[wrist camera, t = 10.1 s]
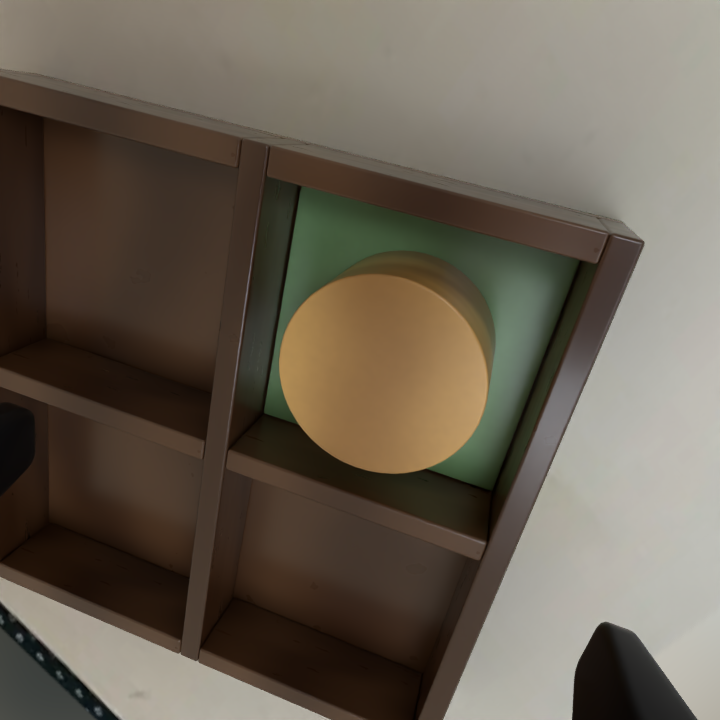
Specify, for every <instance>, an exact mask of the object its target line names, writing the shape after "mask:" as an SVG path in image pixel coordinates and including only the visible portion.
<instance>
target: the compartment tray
mask: <svg viewBox="0 0 720 720" xmlns="http://www.w3.org/2000/svg"><path fill="white" fill-rule="evenodd" d="M643 247H644V241H643V240H642V239H641V238H640V237H638V236H637V235H636V234H635V233H634V232H633V231H632V230H630V229H629V228H628V227H627V226H626V225H625V224H624V223H623V222H621V221H617V220H613V219H609V218H605V217H601V216H597V215H593V214H589V213H585V212H581V211H577V210H574V209H570V208H566V207H562V206H558V205H554V204H550V203H546V202H542V201H538V200H534V199H530V198H526V197H522V196H518V195H514V194H510V193H506V192H502V191H498V190H494V189H490V188H486V187H482V186H478V185H475V184H471V183H467V182H463V181H459V180H455V179H451V178H447V177H443V176H439V175H435V174H431V173H427V172H423V171H419V170H415V169H411V168H407V167H403V166H399V165H395V164H391V163H387V162H383V161H379V160H376V159H372V158H368V157H364V156H360V155H356V154H352V153H348V152H344V151H340V150H336V149H332V148H328V147H324V146H320V145H316V144H312V143H308V142H304V141H300V140H296V139H292V138H288V137H284V136H280V135H277V134H273V133H269V132H265V131H261V130H257V129H253V128H249V127H245V126H241V125H237V124H233V123H229V122H225V121H221V120H217V119H213V118H209V117H205V116H201V115H197V114H193V113H189V112H185V111H181V110H178V109H174V108H170V107H166V106H162V105H158V104H154V103H150V102H146V101H142V100H138V99H134V98H130V97H126V96H122V95H118V94H114V93H110V92H106V91H102V90H98V89H94V88H90V87H86V86H82V85H79V84H75V83H71V82H67V81H63V80H59V79H55V78H51V77H47V76H43V75H39V74H34V73H27V72H26V73H25V72H19V71H12V70H5V69H0V403H4V402H8V403H13V404H16V405H19V406H21V407H24V408H27V409H29V410H30V411H31V412H32V413H33V415H34V418H35V448H36V451H35V457H34V460H33V462H32V464H31V465H30V467H29V468H28V469H27V470H26V471H25V472H24V473H23V474H22V475H21V476H20V477H19V478H18V479H17V480H16V481H15V483H14V484H13V485H12V486H11V487H10V488H9V489H8V490H7V491H6V492H5V493H4V494H3V495H2V496H1V497H0V577H2V578H4V579H6V580H9V581H11V582H13V583H16V584H18V585H20V586H23V587H25V588H27V589H30V590H32V591H34V592H37V593H39V594H41V595H44V596H46V597H48V598H50V599H53V600H55V601H57V602H60V603H62V604H64V605H67V606H69V607H71V608H74V609H76V610H78V611H81V612H83V613H85V614H88V615H90V616H92V617H95V618H97V619H99V620H101V621H104V622H106V623H108V624H111V625H113V626H115V627H118V628H120V629H122V630H125V631H127V632H129V633H132V634H134V635H136V636H139V637H141V638H143V639H146V640H148V641H150V642H152V643H155V644H157V645H159V646H162V647H164V648H166V649H169V650H171V651H173V652H176V653H180V652H181V655H183V656H185V657H188V658H190V659H192V660H195V661H198V660H199V663H201V664H203V665H206V666H208V667H210V668H213V669H215V670H217V671H220V672H222V673H224V674H227V675H229V676H231V677H234V678H236V679H238V680H241V681H243V682H245V683H248V684H250V685H252V686H254V687H257V688H259V689H261V690H264V691H266V692H268V693H271V694H273V695H275V696H278V697H280V698H282V699H285V700H287V701H289V702H292V703H294V704H296V705H299V706H301V707H303V708H305V709H308V710H310V711H312V712H315V713H317V714H319V715H322V716H324V717H326V718H329V719H331V720H443V719H444V716H445V714H446V711H447V709H448V707H449V704H450V702H451V700H452V697H453V695H454V693H455V690H456V688H457V686H458V683H459V681H460V678H461V676H462V674H463V671H464V669H465V667H466V664H467V662H468V660H469V657H470V655H471V653H472V650H473V648H474V645H475V643H476V641H477V638H478V636H479V634H480V631H481V629H482V627H483V624H484V622H485V620H486V617H487V615H488V612H489V610H490V608H491V605H492V603H493V601H494V598H495V596H496V594H497V591H498V589H499V587H500V584H501V582H502V579H503V577H504V575H505V572H506V570H507V568H508V565H509V563H510V561H511V558H512V556H513V554H514V551H515V549H516V546H517V544H518V542H519V539H520V537H521V535H522V532H523V530H524V528H525V525H526V523H527V521H528V518H529V516H530V513H531V511H532V509H533V506H534V504H535V502H536V499H537V497H538V495H539V492H540V490H541V488H542V485H543V483H544V480H545V478H546V476H547V473H548V471H549V469H550V466H551V464H552V462H553V459H554V457H555V455H556V452H557V450H558V447H559V445H560V443H561V440H562V438H563V436H564V433H565V431H566V429H567V426H568V424H569V422H570V419H571V417H572V414H573V412H574V410H575V407H576V405H577V403H578V400H579V398H580V396H581V393H582V391H583V389H584V386H585V384H586V381H587V379H588V377H589V374H590V372H591V370H592V367H593V365H594V363H595V360H596V358H597V356H598V353H599V351H600V348H601V346H602V344H603V341H604V339H605V337H606V334H607V332H608V330H609V327H610V325H611V323H612V320H613V318H614V315H615V313H616V311H617V308H618V306H619V304H620V301H621V299H622V297H623V294H624V292H625V290H626V287H627V285H628V282H629V280H630V278H631V275H632V273H633V271H634V268H635V266H636V264H637V261H638V259H639V257H640V254H641V252H642V249H643ZM400 250H404V251H416V252H420V253H425V254H429V255H432V256H434V257H437V258H440V259H442V260H444V261H446V262H448V263H450V264H451V265H453V266H454V267H455V268H457V269H458V270H460V271H461V272H462V273H463V274H464V275H466V276H467V277H468V278H469V279H470V280H471V281H472V282H473V284H474V285H475V286H476V287H477V288H478V290H479V291H480V293H481V294H482V296H483V297H484V299H485V301H486V303H487V305H488V307H489V310H490V312H491V316H492V319H493V322H494V328H495V338H496V347H495V355H494V362H493V368H492V374H491V380H490V386H489V392H488V399H487V403H486V407H485V410H484V414H483V416H482V418H481V421H480V423H479V425H478V427H477V428H476V430H475V432H474V433H473V435H472V436H471V437H470V439H469V440H468V441H467V442H466V443H465V444H464V446H463V447H461V448H460V449H459V450H458V451H457V452H456V453H455V454H453V455H452V456H450V457H449V458H447V459H446V460H444V461H442V462H440V463H438V464H436V465H434V466H432V467H429V468H426V469H423V470H420V471H415V472H409V473H398V474H389V473H378V472H372V471H367V470H364V469H360V468H357V467H354V466H352V465H349V464H347V463H345V462H343V461H341V460H339V459H337V458H335V457H333V456H332V455H330V454H329V453H328V452H326V451H325V450H323V449H322V448H321V447H320V446H318V445H317V444H316V443H315V442H314V441H313V440H312V439H311V438H310V437H309V436H308V435H307V434H306V433H305V432H304V430H303V429H302V428H301V426H300V425H299V424H298V422H297V421H296V419H295V418H294V416H293V414H292V412H291V411H290V409H289V406H288V404H287V402H286V399H285V397H284V393H283V390H282V386H281V380H280V374H279V356H280V347H281V343H282V339H283V335H284V333H285V330H286V328H287V325H288V323H289V321H290V320H291V318H292V316H293V314H294V313H295V312H296V310H297V309H298V308H299V307H300V305H301V304H302V303H303V302H304V301H305V300H306V299H307V298H308V297H309V296H310V295H311V294H313V293H314V292H316V291H317V290H319V289H320V288H321V287H323V286H324V285H326V284H327V283H328V282H330V281H331V280H333V279H334V278H336V277H337V276H338V275H340V274H341V273H343V272H344V271H346V270H347V269H348V268H350V267H351V266H353V265H354V264H356V263H357V262H359V261H361V260H363V259H365V258H367V257H369V256H372V255H375V254H378V253H383V252H388V251H400Z"/></svg>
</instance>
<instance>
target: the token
mask: <svg viewBox="0 0 720 720" xmlns="http://www.w3.org/2000/svg"><path fill="white" fill-rule="evenodd" d="M495 347H496V338H495V328H494V322H493V319H492V316H491V312H490V310H489V307H488V305H487V303H486V301H485V299H484V297H483V296H482V294H481V293H480V291H479V290H478V288H477V287H476V286H475V285H474V284H473V282H472V281H471V280H470V279H469V278H468V277H467V276H466V275H464V274H463V273H462V272H461V271H460V270H458V269H457V268H455V267H454V266H453V265H451V264H450V263H448V262H446V261H444V260H442V259H440V258H437V257H434V256H432V255H429V254H425V253H420V252H416V251H404V250H400V251H388V252H383V253H378V254H375V255H372V256H369V257H367V258H365V259H363V260H361V261H359V262H357V263H356V264H354V265H353V266H351V267H350V268H348V269H347V270H346V271H344V272H343V273H341V274H340V275H338V276H337V277H336V278H334V279H333V280H331V281H330V282H328V283H327V284H326V285H324V286H323V287H321V288H320V289H319V290H317V291H316V292H314V293H313V294H311V295H310V296H309V297H308V298H307V299H306V300H305V301H304V302H303V303H302V304H301V305H300V307H299V308H298V309H297V310H296V312H295V313H294V314H293V316H292V318H291V320H290V321H289V323H288V325H287V328H286V330H285V333H284V335H283V339H282V343H281V347H280V356H279V374H280V380H281V386H282V390H283V393H284V397H285V399H286V402H287V404H288V406H289V409H290V411H291V412H292V414H293V416H294V418H295V419H296V421H297V422H298V424H299V425H300V426H301V428H302V429H303V430H304V432H305V433H306V434H307V435H308V436H309V437H310V438H311V439H312V440H313V441H314V442H315V443H316V444H317V445H318V446H320V447H321V448H322V449H323V450H325V451H326V452H328V453H329V454H330V455H332V456H333V457H335V458H337V459H339V460H341V461H343V462H345V463H347V464H349V465H352V466H354V467H357V468H360V469H364V470H367V471H372V472H378V473H389V474H398V473H409V472H415V471H420V470H423V469H426V468H429V467H432V466H434V465H436V464H438V463H440V462H442V461H444V460H446V459H447V458H449V457H450V456H452V455H453V454H455V453H456V452H457V451H458V450H459V449H460V448H461V447H463V446H464V444H465V443H466V442H467V441H468V440H469V439H470V437H471V436H472V435H473V433H474V432H475V430H476V428H477V427H478V425H479V423H480V421H481V418H482V416H483V414H484V410H485V407H486V403H487V399H488V392H489V386H490V380H491V374H492V368H493V362H494V355H495Z"/></svg>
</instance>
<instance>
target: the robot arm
mask: <svg viewBox="0 0 720 720" xmlns="http://www.w3.org/2000/svg"><path fill="white" fill-rule="evenodd" d="M35 451H36V448H35V418H34V415H33V413H32V412H31V411H30V410H29V409H27V408H24V407H21V406H19V405H16V404H13V403H8V402H4V403H0V497H1V496H2V495H3V494H4V493H5V492H6V491H7V490H8V489H9V488H10V487H11V486H12V485H13V484H14V483H15V481H16V480H17V479H18V478H19V477H20V476H21V475H22V474H23V473H24V472H25V471H26V470H27V469H28V468H29V467H30V465H31V464H32V462H33V460H34V457H35ZM572 720H697V718H696V717H695V716H694V714H693V713H692V712H691V710H690V709H689V707H688V706H687V705H686V703H685V702H684V700H683V699H682V698H681V696H680V695H679V693H678V692H677V691H676V689H675V688H674V686H673V685H672V684H671V682H670V681H669V679H668V678H667V677H666V675H665V674H664V672H663V671H662V670H661V668H660V667H659V665H658V664H657V663H656V661H655V660H654V659H653V657H652V656H651V654H650V653H649V652H648V650H647V649H646V647H645V646H644V645H643V643H642V642H641V640H640V639H639V638H638V637H637V635H636V634H635V633H633V632H632V631H630V630H628V629H625V628H622V627H619V626H617V625H614V624H611V623H609V622H603V623H601V624H600V625H599V626H598V627H597V628H596V630H595V632H594V633H593V635H592V637H591V639H590V641H589V643H588V645H587V646H586V648H585V650H584V652H583V654H582V656H581V657H580V659H579V661H578V664H577V667H576V671H575V677H574V694H573V713H572Z"/></svg>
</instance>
